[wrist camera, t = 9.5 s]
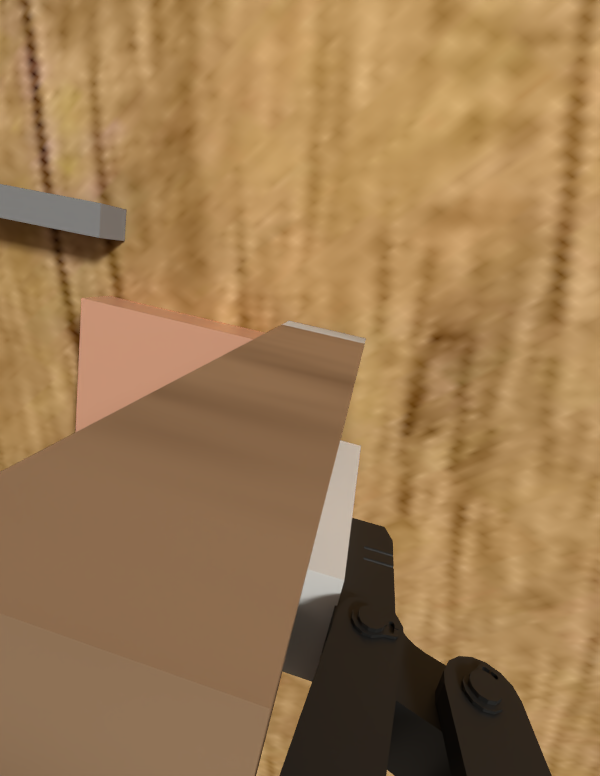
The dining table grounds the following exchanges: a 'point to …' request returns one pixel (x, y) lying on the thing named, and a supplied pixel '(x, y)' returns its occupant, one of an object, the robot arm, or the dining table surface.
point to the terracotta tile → (141, 352)
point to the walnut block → (168, 565)
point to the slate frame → (62, 213)
